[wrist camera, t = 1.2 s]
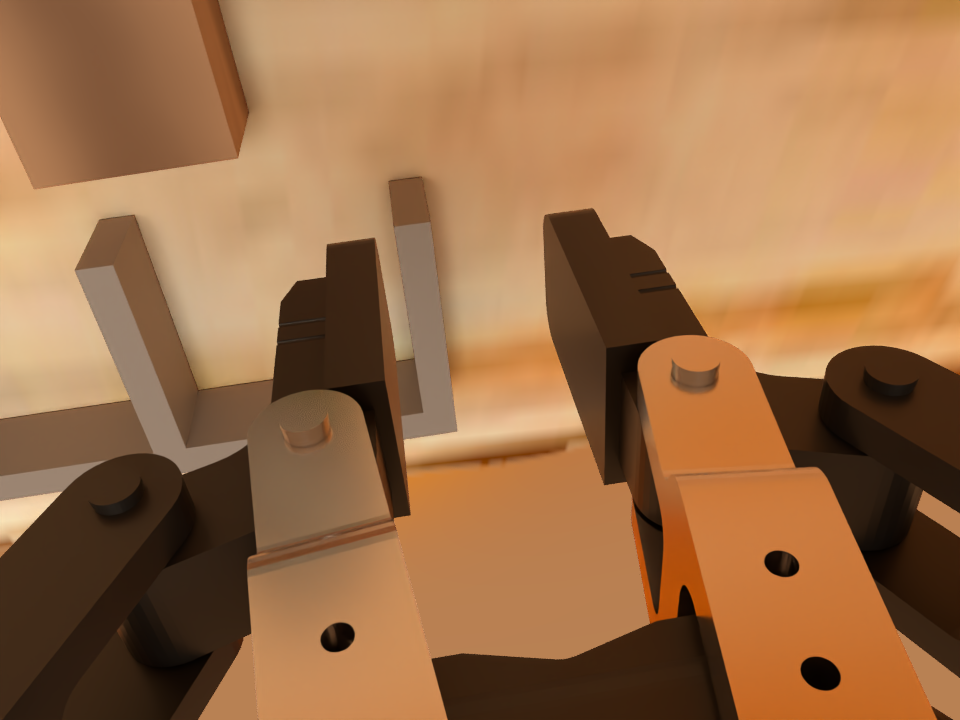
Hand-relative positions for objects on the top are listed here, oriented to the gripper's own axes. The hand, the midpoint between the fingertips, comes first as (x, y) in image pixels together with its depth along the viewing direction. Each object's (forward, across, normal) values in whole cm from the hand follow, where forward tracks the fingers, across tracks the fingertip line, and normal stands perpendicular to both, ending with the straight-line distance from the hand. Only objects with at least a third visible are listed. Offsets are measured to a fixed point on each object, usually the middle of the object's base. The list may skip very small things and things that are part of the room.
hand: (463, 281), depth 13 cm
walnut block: (+17, +8, 0) cm, 19 cm away
